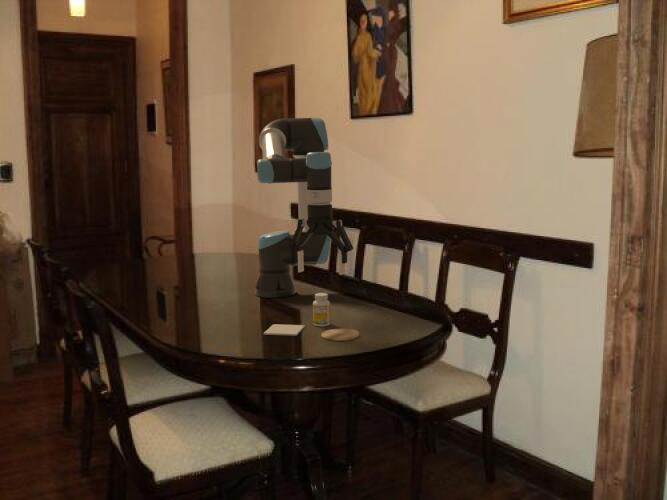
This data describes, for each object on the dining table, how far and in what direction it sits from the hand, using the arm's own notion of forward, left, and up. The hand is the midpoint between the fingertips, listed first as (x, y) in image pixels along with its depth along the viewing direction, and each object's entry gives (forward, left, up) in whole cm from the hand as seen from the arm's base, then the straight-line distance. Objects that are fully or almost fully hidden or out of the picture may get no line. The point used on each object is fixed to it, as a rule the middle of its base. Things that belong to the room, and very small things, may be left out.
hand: (321, 272), depth 212 cm
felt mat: (-8, -10, -16) cm, 21 cm away
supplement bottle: (0, 0, -17) cm, 17 cm away
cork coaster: (+10, -10, -16) cm, 21 cm away
